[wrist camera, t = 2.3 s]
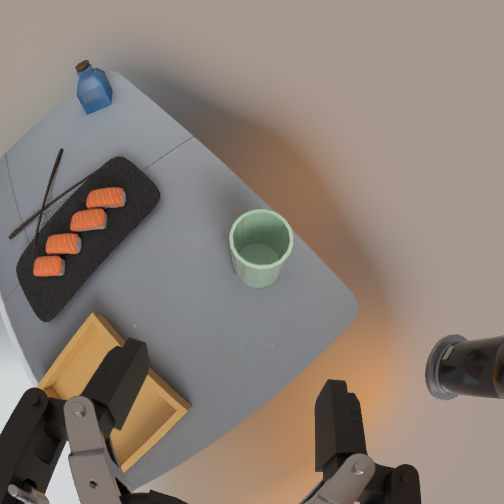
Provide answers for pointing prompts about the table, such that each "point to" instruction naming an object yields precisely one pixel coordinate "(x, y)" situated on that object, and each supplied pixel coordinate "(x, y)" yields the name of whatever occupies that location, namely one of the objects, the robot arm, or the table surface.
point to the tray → (145, 406)
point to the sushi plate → (82, 233)
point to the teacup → (260, 247)
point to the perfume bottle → (92, 87)
